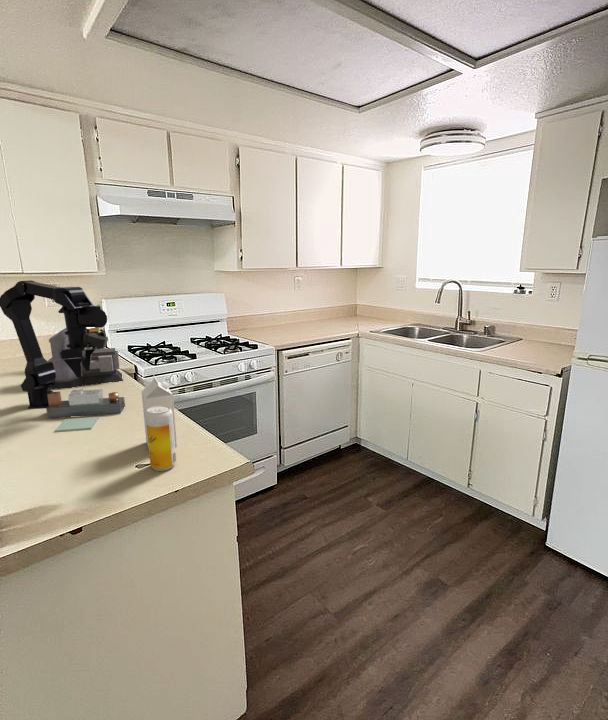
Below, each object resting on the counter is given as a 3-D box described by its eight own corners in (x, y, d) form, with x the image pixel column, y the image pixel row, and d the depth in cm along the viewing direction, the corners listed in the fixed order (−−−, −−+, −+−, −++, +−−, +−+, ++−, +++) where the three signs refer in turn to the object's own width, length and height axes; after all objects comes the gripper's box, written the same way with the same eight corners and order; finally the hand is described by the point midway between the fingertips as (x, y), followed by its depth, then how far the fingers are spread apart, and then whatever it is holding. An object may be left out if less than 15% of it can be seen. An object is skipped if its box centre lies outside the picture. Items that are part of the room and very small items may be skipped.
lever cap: (69, 405, 134) (67, 393, 133) (74, 400, 139) (72, 388, 138) (99, 404, 136) (97, 391, 135) (103, 399, 140) (101, 387, 139)
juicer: (39, 391, 160) (29, 329, 154) (46, 380, 174) (37, 323, 168) (123, 383, 171) (116, 324, 166) (123, 373, 186) (117, 319, 180)
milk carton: (149, 452, 109) (143, 384, 105) (146, 442, 116) (139, 377, 111) (177, 446, 113) (171, 380, 108) (172, 437, 119) (167, 373, 114)
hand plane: (47, 418, 132) (44, 396, 131) (55, 411, 139) (52, 390, 137) (120, 413, 137) (118, 392, 135) (125, 406, 144) (122, 385, 142)
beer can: (154, 460, 105) (149, 405, 101) (178, 459, 105) (174, 404, 102) (147, 472, 99) (141, 414, 95) (173, 471, 99) (168, 413, 96)
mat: (54, 432, 122) (54, 430, 122) (65, 420, 131) (64, 419, 131) (91, 429, 124) (91, 427, 124) (99, 418, 133) (98, 416, 133)
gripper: (95, 329, 124) (103, 379, 128) (110, 321, 142) (116, 365, 146) (55, 332, 122) (64, 382, 126) (75, 323, 140) (82, 368, 143)
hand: (83, 374), depth 135 cm, fingers open, 9 cm apart
